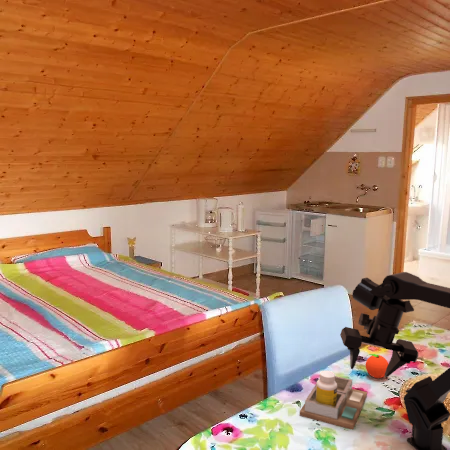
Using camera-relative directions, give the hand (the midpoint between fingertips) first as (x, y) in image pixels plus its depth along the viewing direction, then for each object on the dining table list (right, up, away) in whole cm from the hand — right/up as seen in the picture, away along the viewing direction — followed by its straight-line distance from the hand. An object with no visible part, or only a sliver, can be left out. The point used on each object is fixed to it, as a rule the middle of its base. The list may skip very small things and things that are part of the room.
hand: (368, 372), depth 123 cm
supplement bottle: (-10, -11, +4) cm, 16 cm away
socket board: (-7, -11, +8) cm, 15 cm away
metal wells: (-8, -10, +8) cm, 15 cm away
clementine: (+9, -9, +25) cm, 28 cm away
